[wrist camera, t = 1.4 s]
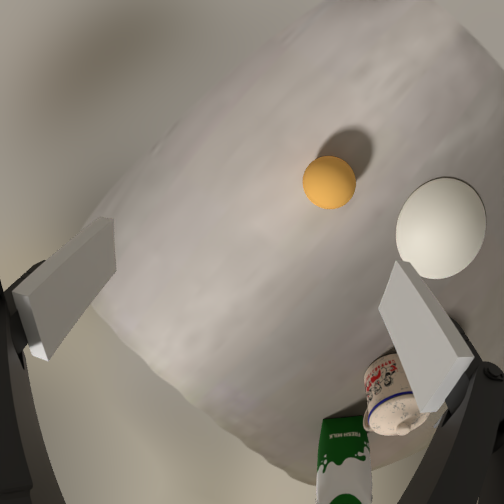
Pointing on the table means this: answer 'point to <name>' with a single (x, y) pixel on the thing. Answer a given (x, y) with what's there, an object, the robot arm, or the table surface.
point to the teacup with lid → (390, 399)
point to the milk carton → (344, 462)
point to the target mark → (441, 228)
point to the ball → (329, 182)
